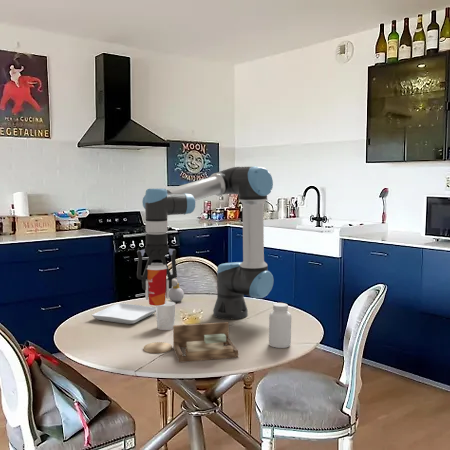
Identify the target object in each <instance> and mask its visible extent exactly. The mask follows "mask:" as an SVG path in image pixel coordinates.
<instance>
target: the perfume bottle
mask: <svg viewBox="0 0 450 450" xmlns="http://www.w3.org/2000/svg"><path fill="white" fill-rule="evenodd" d="M184 297H185V292H184V290H183V289H182V288H181V287H180V283H179V282H178V279H177V277H176V278H173V279H172V288H171V289H169V301H171V302H174V303H179V302H181V301H183V300H184Z"/></svg>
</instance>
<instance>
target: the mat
mask: <svg viewBox="0 0 450 450" xmlns="http://www.w3.org/2000/svg"><path fill="white" fill-rule="evenodd" d="M172 349H173V344H171V343H169V342H164V341H163V342H162V341H161V342H160V341H157V342H150V343H147V344H145V345H144V346H143V350H144V351H145V352H146V353H149V354H164V353H167V352H170V351H172Z"/></svg>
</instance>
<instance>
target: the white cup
mask: <svg viewBox="0 0 450 450" xmlns="http://www.w3.org/2000/svg"><path fill="white" fill-rule="evenodd" d="M155 308H156V312H155V315H156V316H155V317H156V319H155V320H156V325H157V326H156V328H157V330H160V331H170V330H173V325H175V319H176V318H175V317H176V302H173V301H171V300H169V301H168V300H165V304H164V305H158V306H155Z"/></svg>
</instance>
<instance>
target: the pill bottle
mask: <svg viewBox="0 0 450 450" xmlns="http://www.w3.org/2000/svg"><path fill="white" fill-rule="evenodd" d="M272 305H273V306H272V311H271V312H269V320H268V321H269V323H268V324H269V325H268V344H269V345H270V346H271V347H273V348H277V349H285V348H286V349H287V348H289V347H290V346H292V345H291V344H292V313H291V312H289V305H288V304H287V303H284V302H275V303H273V304H272Z"/></svg>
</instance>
